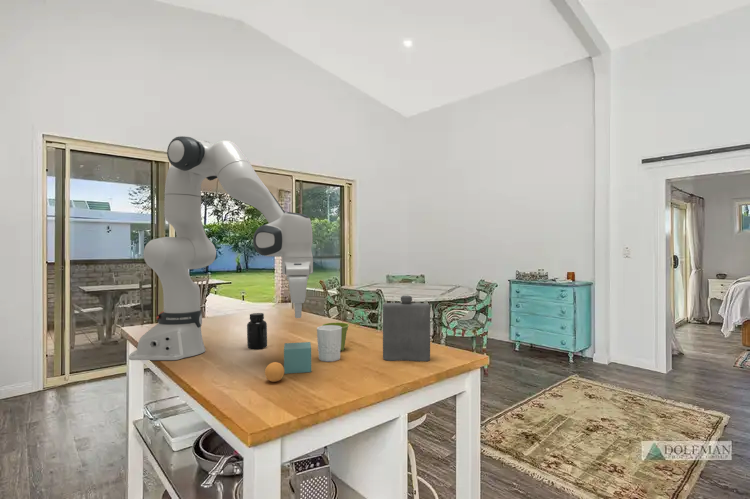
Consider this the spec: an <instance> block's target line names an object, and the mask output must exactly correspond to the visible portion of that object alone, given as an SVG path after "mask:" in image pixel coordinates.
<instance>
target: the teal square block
mask: <svg viewBox="0 0 750 499" xmlns="http://www.w3.org/2000/svg"><path fill="white" fill-rule="evenodd" d="M311 344H312V343H311V341H305V342H303V341H302V342H301V341H300V342H287V343H286V342H284V345H283V347H284V348H283V367H284V375H286V374H301V373H302V374H303V373H312V345H311Z"/></svg>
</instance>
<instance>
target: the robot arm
mask: <svg viewBox="0 0 750 499" xmlns="http://www.w3.org/2000/svg"><path fill="white" fill-rule="evenodd" d="M166 154H167V155H166V156H167V160H168V161H169V163H170V166H169V168H168V169H167V173H166V178H165V187H164V211H163V212H164V219H165V220H166V222H167V223H168V224H170V225H171V226H172V227H173V229H174V231H175V235H176V236H163V237H159V238H154V239H151V240H148V242H147V243H146V245H145V246H144V249H143V260H144V262H145V264H146V265H147V266H148V267H149V268H150V269H151V270H153V271H154V272H155V273H156V275H157V277H158V279H159V281H160V283H161V287H162V291H163V311H161V312H160V313H159V314H158V315H157V316H155V319H156V320H157V324H155V325H154V326H153V327H151V328H150V329H149V330H147V331H146V332H145V333H144V334H143V335H141V337H140V338H139V339H138V343H137V347H136V350H134V351H132V352H131V353H130V354H129V355H128V360H129V361H178V360H180V359H184V358H189V357H193V356H197V355H201V354H203V353H205V352H206V347H205V344H204V340H203V335H202V324H203V314H202V309H201V288H200V286H199V284H197V283H196V282H195V281H193V280H192V278H191V276H190V273H189V270H197V269H202V268H203V269H204V268H206V267H209V266H210V265H212V264H213V263H214V261H215V260H216V256H217V249H216V246H215V244H213V242H212V241H211V240H210V239H209V238H208V236H207V234H206V232H205V229H204V226H203V220H202V184H203V181H204V180H205V179H207V180H209V181H214V180H216V179H218V180H217V181H218V182H219V183H220V185H221V187H222V188H223V190H224V191H225V192H226V194H228V195H229V197H231V198H233V199H235V200H237V201H239V202H242V203H244V204H247V205H249V206H251V207H253V208H255V209H256V210H258V211H259V212H260V213H261V214H262V215H263V216H264V218H265V219H266V221H267V222H268V223H267V224H263V225H260V226H259V227H258V228H257V229H256V230H255V232H254V234H253V239H252V244H253V247H254V249H255V250H256V252H257V253H258V254H259V255H261V256H264V257H276V258H277V257H281V272H282V274H283V275H284V276H285V275H286V280H288V289H289V295H290V296H289V297H290V300H291V301H290V302H291V303H292V304H293V306H294V318H295V319H301V318H302V308H303V304H304V303H305V302H306V297H307V288H308V287H307V286H308V280H309V277H310V275H311V274H314V262H313V261H314V256H313V252H312V246H313V243H314V242H313V240H314V239H313V226H312V221H311V218H310V216H309V215H308V214H304V213H300V212H299V213H298V212H292V211H287V212H286V211H285V209H284V208H283V206H281V204H280V203H279V201H278V200H277V198H276V197H275V195H274V194H273V193H272V191H270V190H269V188H268V187H267V186H266V185H265V184H264V182H263V181H262V179H261V178H260V177H259V175H258V173H257V172H256V170H255V169H254V167H253V165H252V164H251V162H250V161H249V159H248V158H247V156H246V154H244V152H243V151H242V150H241V148H240V147H239V146H238V145H237V144H236V142H234V141H232V140H228V139H223V140H218V141H217V142H215V143H213V142H210V141H207V140H202V139H197V138H193V137H190V136H181V135H180V136H176V137H174V138H173V139H172V140H170V142H169V144H168V146H167V151H166Z"/></svg>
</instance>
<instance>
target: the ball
mask: <svg viewBox="0 0 750 499" xmlns="http://www.w3.org/2000/svg"><path fill="white" fill-rule="evenodd" d="M264 375H265V377H266V379H267V380H268V381H270V382H272V383H276V382H279V381H281V380H282V379H283V377H284V375H285V374H284V365H283V364H281V363H280V362H278V361H273V362H270V363H269V364H267V366H266V367H265V369H264Z"/></svg>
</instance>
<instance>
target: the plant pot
mask: <svg viewBox="0 0 750 499" xmlns="http://www.w3.org/2000/svg"><path fill="white" fill-rule="evenodd" d="M326 325H336V326H341V327H342V335H341V350H340V352H341V351H342V352H343V351H345V347H346V339H347V334H348V328H349V326H350V324H349V323H347V322H328V323H323V324H322V325H321V326H326Z"/></svg>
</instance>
